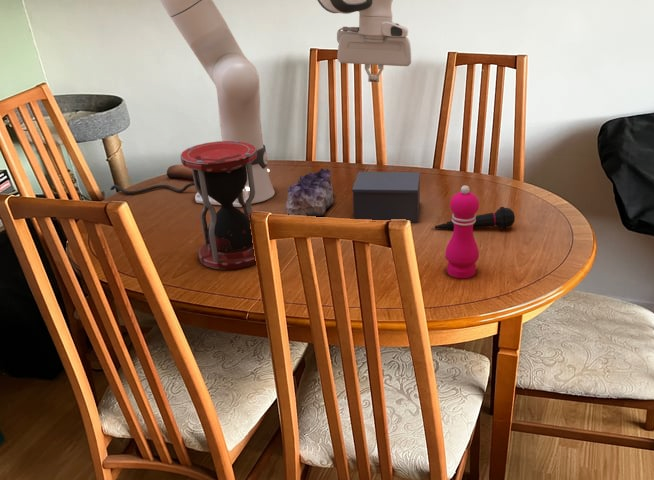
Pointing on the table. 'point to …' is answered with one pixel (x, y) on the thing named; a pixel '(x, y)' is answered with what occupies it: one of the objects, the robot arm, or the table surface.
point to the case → (386, 205)
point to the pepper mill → (463, 235)
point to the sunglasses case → (179, 171)
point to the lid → (387, 182)
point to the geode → (311, 194)
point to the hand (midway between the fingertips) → (373, 81)
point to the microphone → (488, 220)
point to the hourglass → (224, 201)
